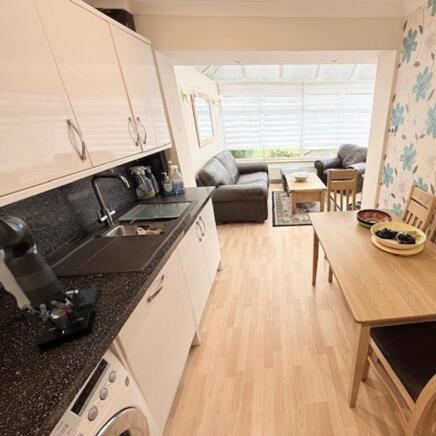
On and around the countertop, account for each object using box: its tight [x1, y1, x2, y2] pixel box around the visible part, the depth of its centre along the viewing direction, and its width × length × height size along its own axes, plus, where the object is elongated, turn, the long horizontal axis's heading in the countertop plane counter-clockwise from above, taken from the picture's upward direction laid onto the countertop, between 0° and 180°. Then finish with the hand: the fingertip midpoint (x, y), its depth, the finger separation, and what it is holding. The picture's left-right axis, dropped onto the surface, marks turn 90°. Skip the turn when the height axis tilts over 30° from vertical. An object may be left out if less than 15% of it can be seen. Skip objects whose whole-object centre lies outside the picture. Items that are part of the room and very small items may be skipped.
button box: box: [50, 286, 99, 314], centre depth 89 cm, size 12×10×4 cm
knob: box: [50, 309, 75, 330], centre depth 76 cm, size 4×4×5 cm
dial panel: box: [36, 307, 96, 352], centre depth 78 cm, size 12×10×3 cm
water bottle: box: [0, 250, 30, 310], centre depth 85 cm, size 7×7×25 cm
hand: (65, 322), depth 77 cm, fingers closed on knob, 4 cm apart
